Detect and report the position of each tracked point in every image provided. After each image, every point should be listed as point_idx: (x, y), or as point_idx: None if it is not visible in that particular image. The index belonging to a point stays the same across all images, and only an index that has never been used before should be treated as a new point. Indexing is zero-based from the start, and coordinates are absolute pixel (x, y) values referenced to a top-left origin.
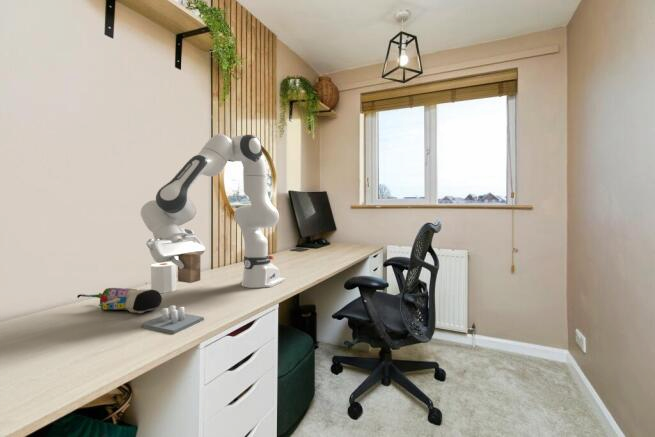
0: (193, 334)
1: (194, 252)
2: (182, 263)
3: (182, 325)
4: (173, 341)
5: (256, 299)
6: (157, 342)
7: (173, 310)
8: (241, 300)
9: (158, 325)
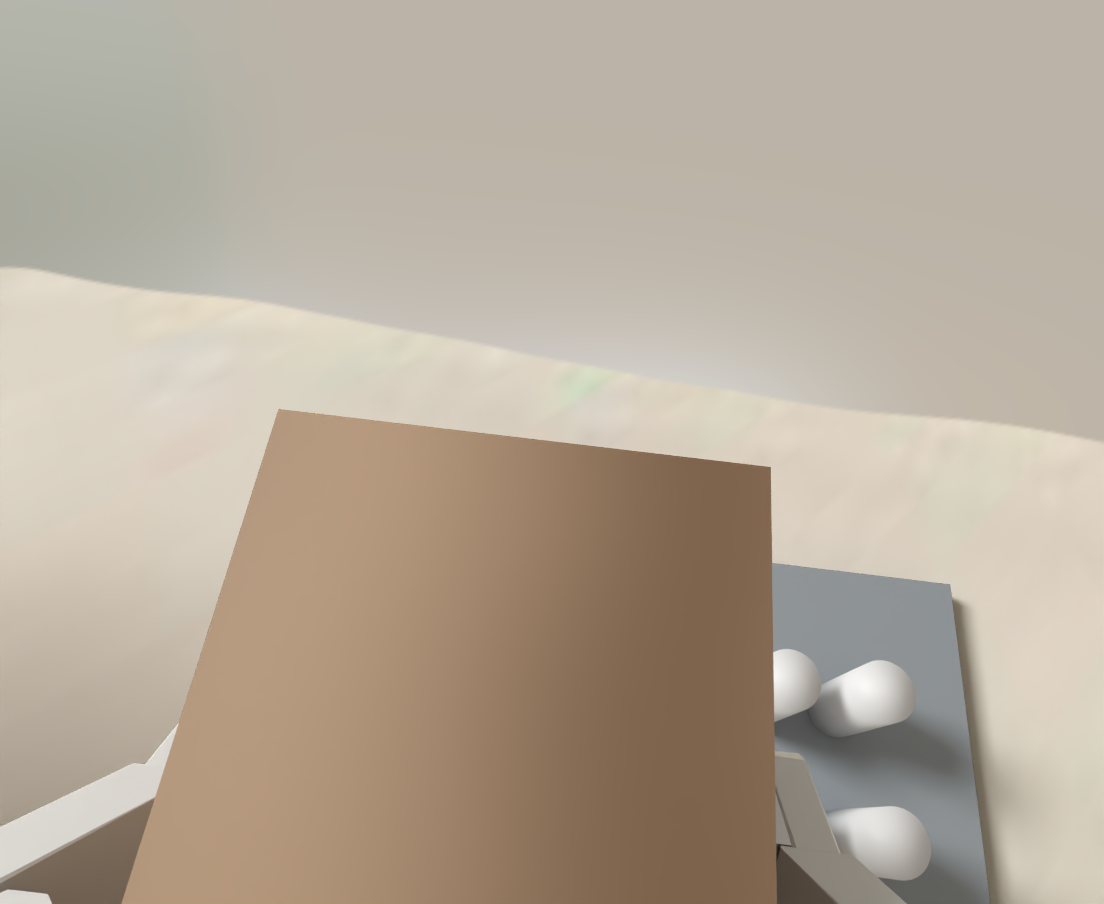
0: (872, 454)
1: (194, 722)
2: (794, 802)
3: (846, 593)
4: (1015, 508)
5: (4, 395)
6: (1086, 602)
7: (888, 699)
8: (39, 518)
9: (946, 811)
